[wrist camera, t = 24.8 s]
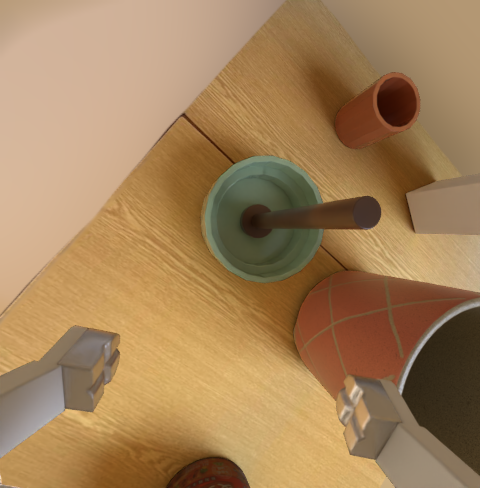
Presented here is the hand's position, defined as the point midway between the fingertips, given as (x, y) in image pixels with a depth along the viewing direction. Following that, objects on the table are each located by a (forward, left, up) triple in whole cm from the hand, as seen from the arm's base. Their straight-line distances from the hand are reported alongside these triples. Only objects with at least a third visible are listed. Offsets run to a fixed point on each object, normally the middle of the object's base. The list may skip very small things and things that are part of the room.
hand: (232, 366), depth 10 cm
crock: (-9, +32, -28) cm, 43 cm away
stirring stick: (-2, +11, -27) cm, 29 cm away
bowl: (-2, +11, -28) cm, 30 cm away
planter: (+19, +18, -28) cm, 38 cm away
